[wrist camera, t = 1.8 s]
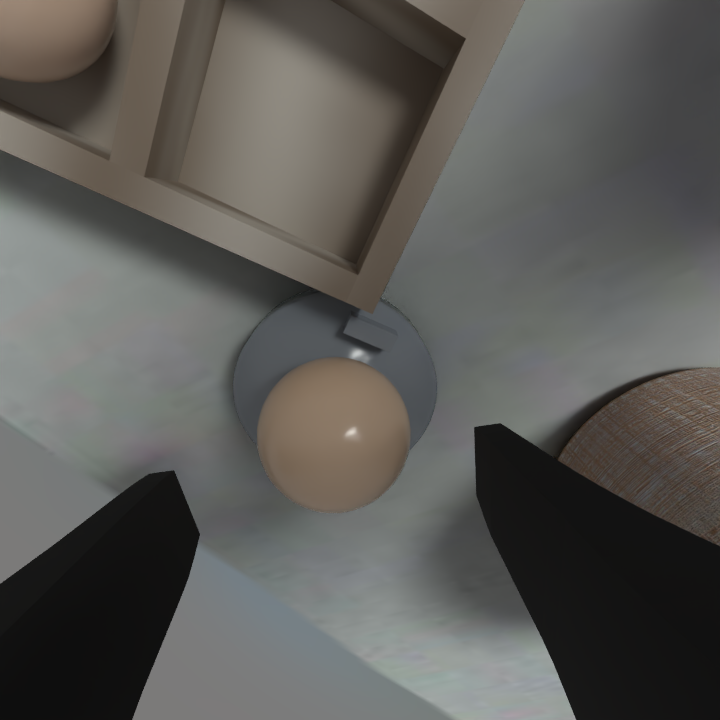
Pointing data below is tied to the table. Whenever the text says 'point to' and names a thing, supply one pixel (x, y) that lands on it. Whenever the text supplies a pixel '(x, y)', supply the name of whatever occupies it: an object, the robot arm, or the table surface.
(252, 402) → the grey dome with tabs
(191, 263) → the table surface
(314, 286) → the carton
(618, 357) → the table surface
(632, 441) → the planter
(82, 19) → the egg
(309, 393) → the egg loose
